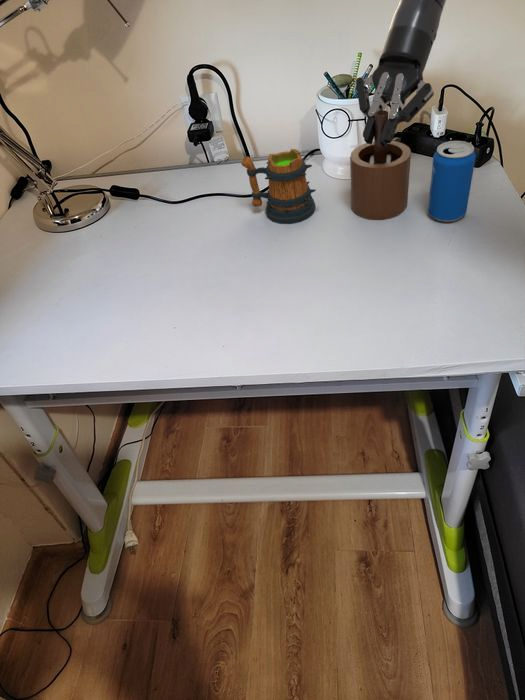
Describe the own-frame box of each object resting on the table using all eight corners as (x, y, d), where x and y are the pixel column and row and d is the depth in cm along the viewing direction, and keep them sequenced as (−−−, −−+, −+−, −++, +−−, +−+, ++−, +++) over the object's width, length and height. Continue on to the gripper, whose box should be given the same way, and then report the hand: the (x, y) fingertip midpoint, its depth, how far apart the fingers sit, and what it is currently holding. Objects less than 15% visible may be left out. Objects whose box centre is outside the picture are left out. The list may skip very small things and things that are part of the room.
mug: (316, 194, 101) (312, 136, 93) (317, 222, 94) (313, 163, 86) (251, 200, 103) (242, 145, 94) (248, 228, 96) (237, 171, 87)
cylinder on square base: (390, 175, 92) (393, 107, 84) (389, 185, 90) (392, 117, 81) (370, 175, 93) (371, 109, 85) (368, 185, 91) (369, 118, 82)
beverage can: (424, 206, 92) (430, 142, 84) (461, 202, 92) (471, 137, 83) (431, 226, 88) (438, 160, 79) (469, 222, 87) (481, 155, 79)
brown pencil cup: (408, 190, 97) (411, 139, 90) (406, 220, 90) (410, 167, 83) (354, 191, 100) (353, 141, 93) (348, 220, 93) (347, 168, 86)
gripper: (364, 22, 82) (330, 129, 85) (448, 24, 76) (409, 140, 78) (378, 47, 89) (346, 146, 91) (457, 51, 82) (420, 157, 85)
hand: (375, 142), depth 85 cm, fingers closed on cylinder on square base, 2 cm apart
